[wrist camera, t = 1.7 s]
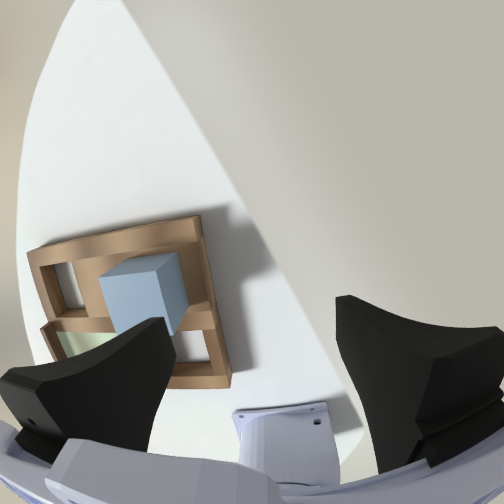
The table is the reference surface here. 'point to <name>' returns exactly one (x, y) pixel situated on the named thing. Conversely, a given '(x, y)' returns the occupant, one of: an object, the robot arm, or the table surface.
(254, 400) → the table surface
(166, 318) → the slate block
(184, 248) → the brown compartment tray
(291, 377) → the table surface
